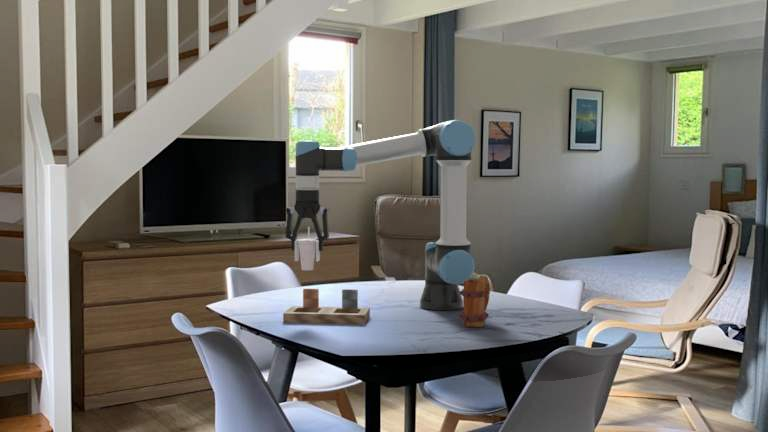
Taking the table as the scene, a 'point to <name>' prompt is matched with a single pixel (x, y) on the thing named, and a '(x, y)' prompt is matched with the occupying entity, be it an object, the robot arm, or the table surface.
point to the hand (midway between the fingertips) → (307, 260)
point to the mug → (475, 301)
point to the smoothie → (307, 252)
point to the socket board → (327, 310)
